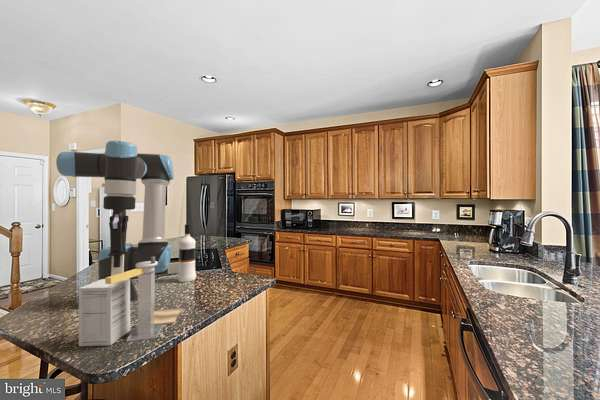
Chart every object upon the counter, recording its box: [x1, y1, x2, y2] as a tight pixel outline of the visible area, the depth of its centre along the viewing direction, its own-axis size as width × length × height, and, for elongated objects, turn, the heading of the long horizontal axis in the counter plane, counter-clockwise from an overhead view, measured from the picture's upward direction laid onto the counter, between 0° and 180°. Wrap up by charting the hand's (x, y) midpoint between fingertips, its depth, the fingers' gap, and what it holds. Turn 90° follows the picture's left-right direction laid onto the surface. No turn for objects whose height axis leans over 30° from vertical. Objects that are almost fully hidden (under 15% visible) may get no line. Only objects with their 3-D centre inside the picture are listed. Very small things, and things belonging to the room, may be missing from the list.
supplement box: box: [78, 279, 131, 347], centre depth 78 cm, size 10×9×17 cm
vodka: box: [176, 223, 197, 283], centre depth 137 cm, size 9×9×30 cm
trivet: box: [134, 307, 182, 329], centre depth 91 cm, size 12×12×1 cm
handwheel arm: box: [105, 257, 158, 284], centre depth 76 cm, size 6×16×5 cm, turn 169°
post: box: [126, 271, 165, 343], centre depth 81 cm, size 8×8×19 cm
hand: (117, 277), depth 73 cm, fingers closed
